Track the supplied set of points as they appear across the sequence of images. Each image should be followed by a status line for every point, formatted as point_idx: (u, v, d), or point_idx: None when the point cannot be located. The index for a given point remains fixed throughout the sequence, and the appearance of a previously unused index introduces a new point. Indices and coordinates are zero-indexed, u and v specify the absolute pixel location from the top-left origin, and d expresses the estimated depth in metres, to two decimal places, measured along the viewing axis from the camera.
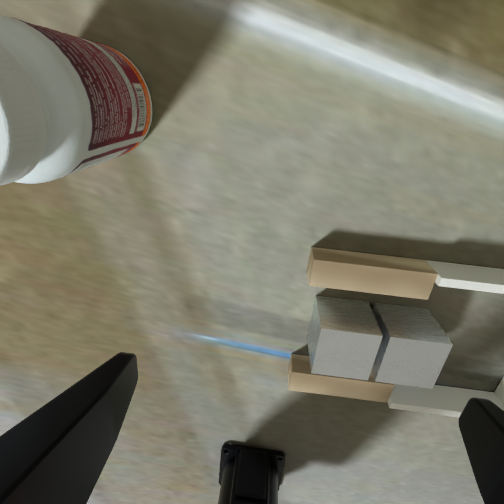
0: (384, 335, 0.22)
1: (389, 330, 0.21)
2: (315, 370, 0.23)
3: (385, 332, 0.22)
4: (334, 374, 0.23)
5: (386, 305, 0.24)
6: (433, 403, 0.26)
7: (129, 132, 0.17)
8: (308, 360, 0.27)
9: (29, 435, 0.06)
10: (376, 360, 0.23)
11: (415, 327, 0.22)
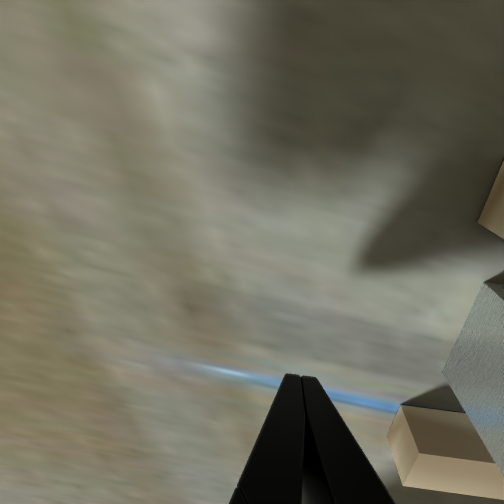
0: None
1: None
2: None
3: None
4: None
5: None
6: None
7: None
8: (440, 421, 0.13)
9: (271, 468, 0.06)
10: None
11: None
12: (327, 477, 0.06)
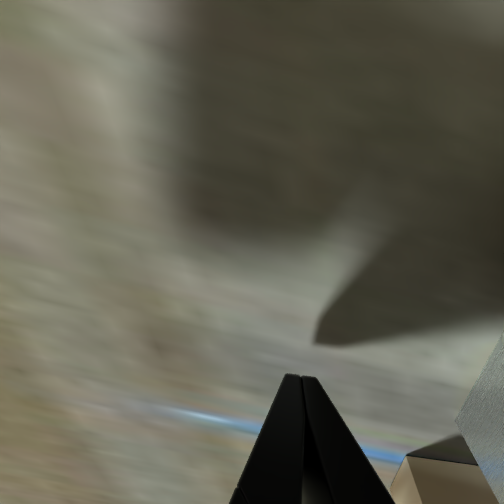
0: None
1: None
2: None
3: None
4: None
5: None
6: None
7: None
8: (453, 477, 0.11)
9: (271, 468, 0.06)
10: None
11: None
12: (327, 477, 0.06)
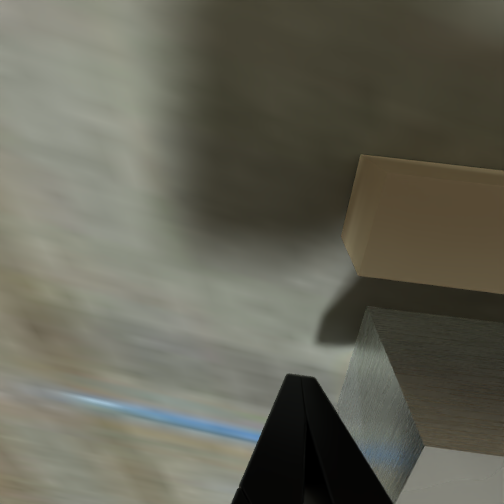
0: None
1: None
2: None
3: None
4: None
5: None
6: None
7: None
8: None
9: (273, 469, 0.06)
10: None
11: None
12: (325, 477, 0.06)
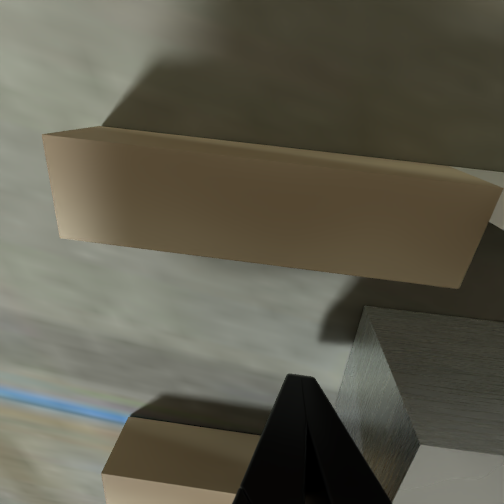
0: None
1: None
2: None
3: None
4: None
5: None
6: None
7: None
8: (161, 435, 0.11)
9: (274, 469, 0.06)
10: None
11: None
12: (324, 477, 0.06)
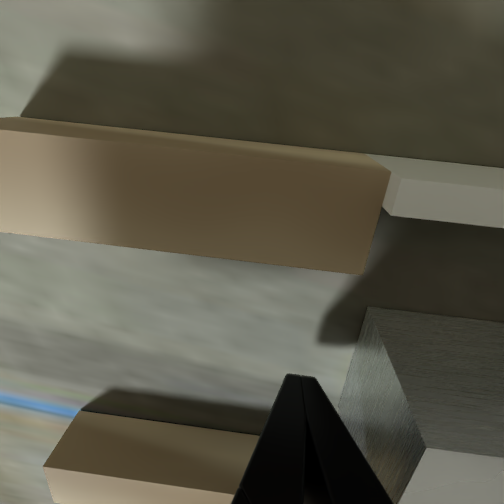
0: None
1: None
2: None
3: None
4: None
5: None
6: None
7: None
8: (109, 429, 0.11)
9: (273, 469, 0.06)
10: None
11: None
12: (325, 477, 0.06)
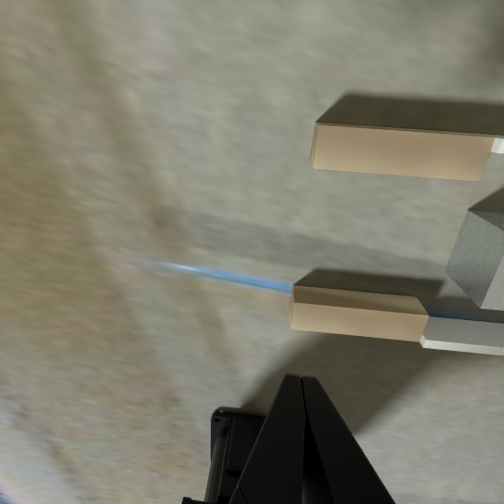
0: None
1: None
2: (487, 303, 0.16)
3: None
4: None
5: None
6: (481, 340, 0.19)
7: None
8: (314, 291, 0.21)
9: (271, 468, 0.06)
10: None
11: None
12: (327, 477, 0.06)
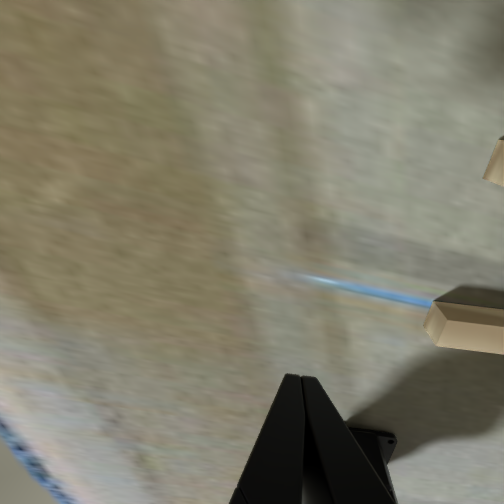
0: None
1: None
2: None
3: None
4: None
5: None
6: None
7: None
8: (459, 308, 0.20)
9: (271, 468, 0.06)
10: None
11: None
12: (327, 477, 0.06)
